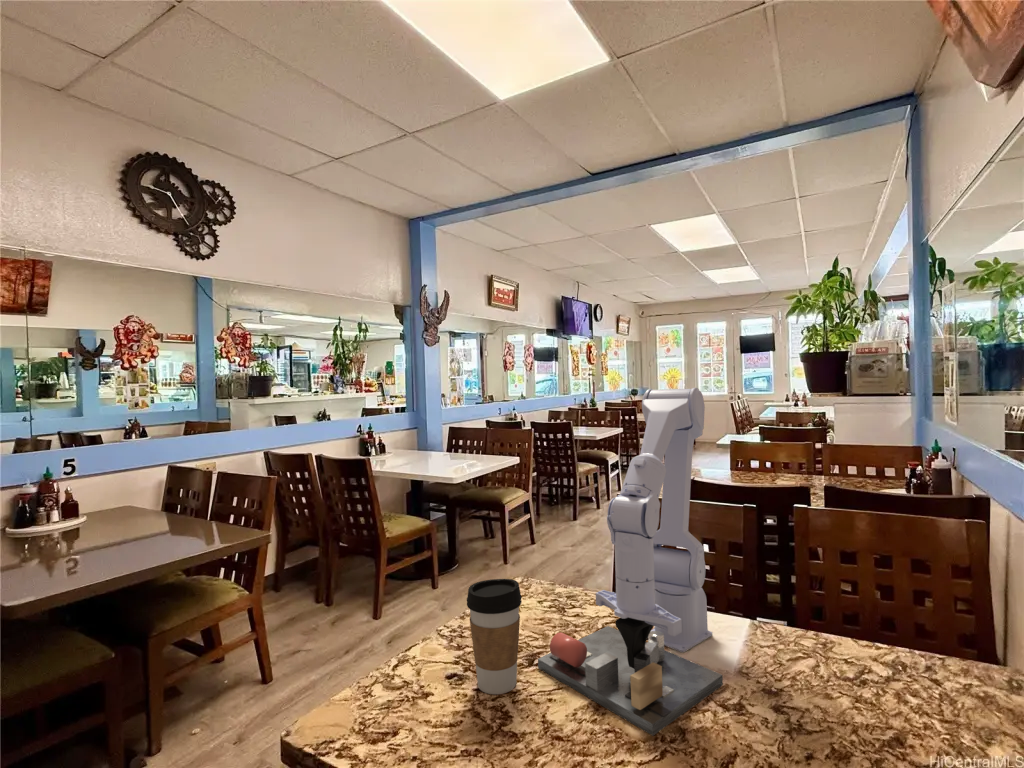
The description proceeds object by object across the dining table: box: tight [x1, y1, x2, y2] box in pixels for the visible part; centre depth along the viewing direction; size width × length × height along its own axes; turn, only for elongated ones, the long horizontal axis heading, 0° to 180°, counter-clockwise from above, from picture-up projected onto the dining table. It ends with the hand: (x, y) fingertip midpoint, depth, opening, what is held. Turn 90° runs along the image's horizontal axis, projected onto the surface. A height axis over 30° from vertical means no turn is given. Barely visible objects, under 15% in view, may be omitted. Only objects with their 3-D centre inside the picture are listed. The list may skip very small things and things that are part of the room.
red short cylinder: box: [549, 631, 587, 667], centre depth 82 cm, size 4×5×4 cm
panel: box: [537, 625, 724, 736], centre depth 81 cm, size 17×22×5 cm
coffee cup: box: [466, 578, 523, 695], centre depth 80 cm, size 8×8×15 cm
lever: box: [634, 631, 665, 672], centre depth 79 cm, size 9×2×4 cm, turn 148°
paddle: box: [630, 662, 663, 710], centre depth 71 cm, size 5×1×4 cm, turn 129°
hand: (637, 666), depth 79 cm, fingers closed, pressing on lever
